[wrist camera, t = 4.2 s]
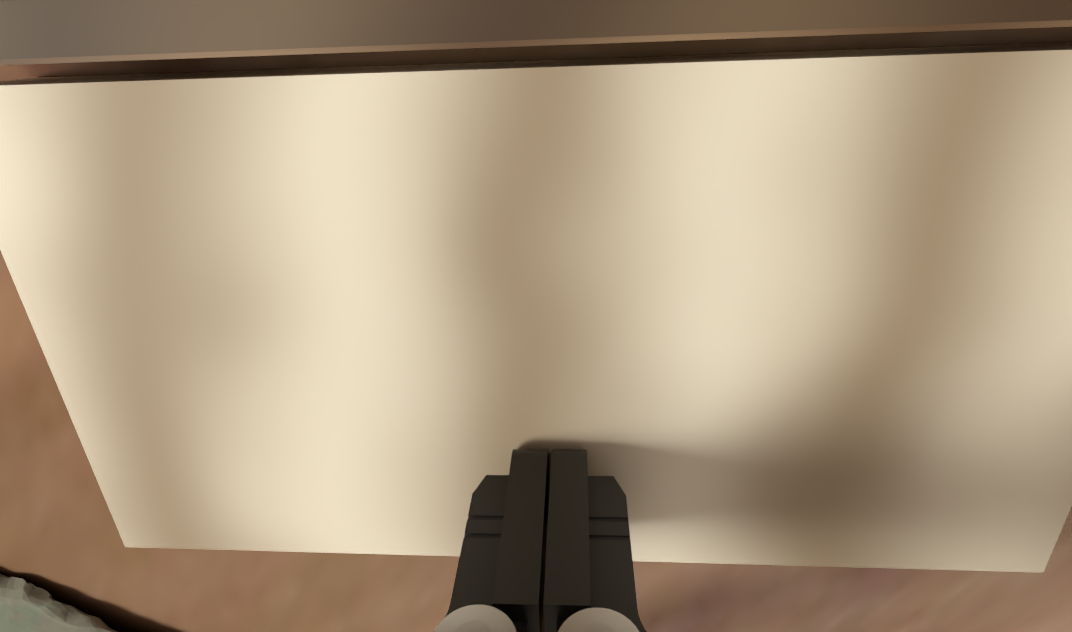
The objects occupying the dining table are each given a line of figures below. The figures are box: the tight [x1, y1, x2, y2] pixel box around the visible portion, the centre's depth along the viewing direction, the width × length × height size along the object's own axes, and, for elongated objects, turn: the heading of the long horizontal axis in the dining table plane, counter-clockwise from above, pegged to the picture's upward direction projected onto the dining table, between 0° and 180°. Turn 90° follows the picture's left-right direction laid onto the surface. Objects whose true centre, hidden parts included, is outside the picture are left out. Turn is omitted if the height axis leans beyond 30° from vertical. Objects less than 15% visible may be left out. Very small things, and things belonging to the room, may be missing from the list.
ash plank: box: [0, 42, 1072, 572], centre depth 12 cm, size 20×10×2 cm, turn 92°
